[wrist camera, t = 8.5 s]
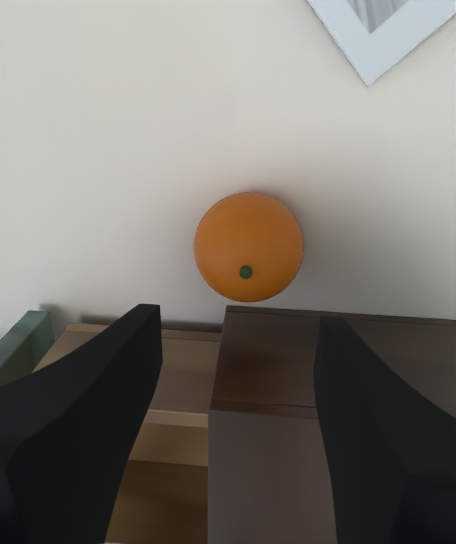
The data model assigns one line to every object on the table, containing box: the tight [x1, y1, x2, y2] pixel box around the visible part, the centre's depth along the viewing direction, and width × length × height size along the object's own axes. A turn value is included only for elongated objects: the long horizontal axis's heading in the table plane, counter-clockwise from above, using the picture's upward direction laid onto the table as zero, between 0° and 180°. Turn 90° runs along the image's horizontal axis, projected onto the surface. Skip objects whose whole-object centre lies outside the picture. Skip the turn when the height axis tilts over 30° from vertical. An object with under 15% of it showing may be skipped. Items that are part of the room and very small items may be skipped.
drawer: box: [0, 310, 222, 544], centre depth 23 cm, size 18×11×6 cm, turn 89°
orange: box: [194, 192, 304, 302], centre depth 19 cm, size 5×5×5 cm
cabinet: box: [208, 306, 456, 544], centre depth 22 cm, size 14×12×8 cm
